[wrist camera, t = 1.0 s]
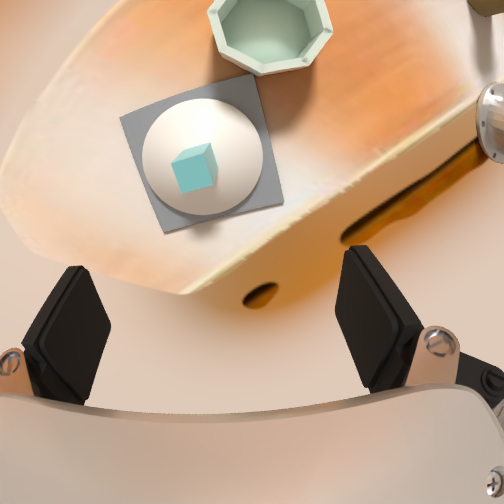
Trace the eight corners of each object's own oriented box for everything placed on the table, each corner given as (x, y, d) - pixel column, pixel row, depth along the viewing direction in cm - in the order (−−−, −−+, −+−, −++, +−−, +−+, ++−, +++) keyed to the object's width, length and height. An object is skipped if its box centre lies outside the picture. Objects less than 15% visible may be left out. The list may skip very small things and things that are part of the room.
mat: (252, 73, 25) (252, 73, 25) (283, 200, 33) (284, 202, 33) (121, 117, 27) (119, 117, 26) (164, 230, 35) (163, 232, 34)
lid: (245, 84, 25) (246, 82, 20) (274, 196, 32) (280, 221, 27) (129, 122, 27) (104, 131, 21) (167, 223, 34) (153, 251, 28)
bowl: (300, -13, 20) (312, -32, 14) (323, 66, 25) (341, 62, 20) (206, 4, 21) (198, -14, 15) (230, 83, 26) (227, 81, 21)
